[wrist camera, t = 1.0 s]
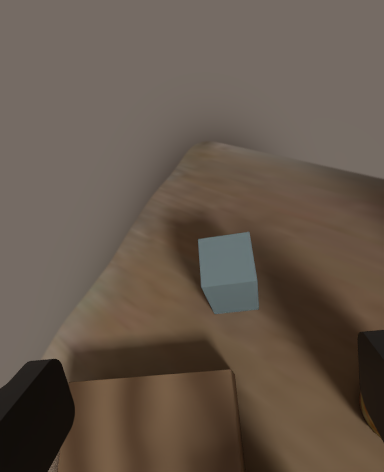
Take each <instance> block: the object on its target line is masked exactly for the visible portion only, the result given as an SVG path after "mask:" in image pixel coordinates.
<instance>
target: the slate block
mask: <svg viewBox="0 0 384 472" xmlns="http://www.w3.org/2000/svg"><path fill="white" fill-rule="evenodd" d="M198 246H199V260H200V274H201V288H202V290H203V292H204V294H205V296H206V298H207V300H208V302H209V304H210V306H211V308H212V310H213V312H214V314H220V313H229V312H239V311H248V310H257V309H259V303H258V284H257V276H256V270H255V264H254V257H253V251H252V245H251V239H250V233H249V232H245V233H238V234H231V235H224V236H217V237H210V238H203V239H198Z"/></svg>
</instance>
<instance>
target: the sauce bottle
mask: <svg viewBox="0 0 384 472" xmlns="http://www.w3.org/2000/svg"><path fill="white" fill-rule="evenodd" d="M359 399H360V401H359V406H360V408H361V411H362V414H363V415H364V418H365V420H366V422H367V423H368V425H369V427H370V428H371V429H372V431H373V432H374V433H376V434H377V435H378V436H379V437H380V435H379V433H378V431H377V429H376V427H375V425H374V423H373V422H372V420H371V418H370V416H369V414H368V412H367V410H366V407H365V405H364V402H363V398H362V394H361V391H360V394H359ZM380 438H381V437H380ZM381 439H382V438H381Z"/></svg>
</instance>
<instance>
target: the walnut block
mask: <svg viewBox="0 0 384 472" xmlns="http://www.w3.org/2000/svg"><path fill="white" fill-rule="evenodd" d="M69 388H70V391H71V394H72V397H73V401H74V404H75V417H74V422H73V425H72V428H71V430H70V432H69V433H68V435H67V437H66V439H65V441H64V443H63V444H62V446H61V448H60V456H59V464H58V472H245V465H244V455H243V446H242V437H241V428H240V419H239V410H238V401H237V392H236V383H235V374H234V373H233V372H232V370H231V369H228V370H216V371H204V372H191V373H179V374H167V375H154V376H142V377H130V378H117V379H105V380H93V381H80V382H69Z"/></svg>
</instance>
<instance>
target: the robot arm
mask: <svg viewBox="0 0 384 472" xmlns="http://www.w3.org/2000/svg"><path fill="white" fill-rule="evenodd" d="M358 357H359V379H360V390H361V394H362V398H363V402H364V405H365V407H366V410H367V412H368V414H369V416H370V418H371V420H372V422H373V423H374V425H375V427H376V429H377V431H378V433H379V435H380V437H381V438H382V440H383V442H384V330H377V331H366V332H360V333H359V334H358ZM74 417H75V404H74V401H73V397H72V394H71V391H70V388H69V385H68V382H67V379H66V376H65V373H64V370H63V367H62V364H61V362H60V361H59V360H57V359H48V360H38V361H29V362H27V363H26V364H25V365H24V366H23V367H22V368H21V369H20V370H19V371H18V373H17V374H16V375H15V376H14V377H13V378H12V379H11V380H10V381H9V382H8V383H7V384H6V385H5V386H3V387H2V388H1V389H0V472H48V470H49V468H50V466H51V465H52V463H53V461H54V459H55V457H56V455H57V454H58V452H59V450H60V448H61V446H62V444H63V443H64V441H65V439H66V437H67V435H68V433H69V432H70V430H71V428H72V425H73V422H74Z"/></svg>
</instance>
